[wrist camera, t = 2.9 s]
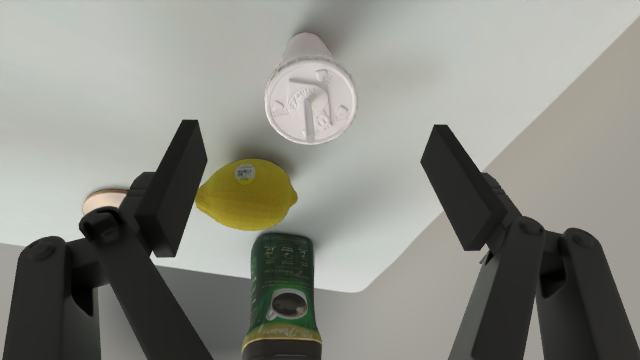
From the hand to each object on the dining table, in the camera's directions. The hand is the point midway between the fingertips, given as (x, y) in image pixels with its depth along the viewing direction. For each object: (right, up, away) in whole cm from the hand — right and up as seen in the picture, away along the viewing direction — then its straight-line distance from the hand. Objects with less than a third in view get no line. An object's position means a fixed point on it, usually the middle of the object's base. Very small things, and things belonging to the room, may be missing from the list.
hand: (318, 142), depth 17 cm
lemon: (-8, -1, +19) cm, 21 cm away
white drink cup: (-1, +9, +10) cm, 14 cm away
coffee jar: (-6, -13, +30) cm, 33 cm away
